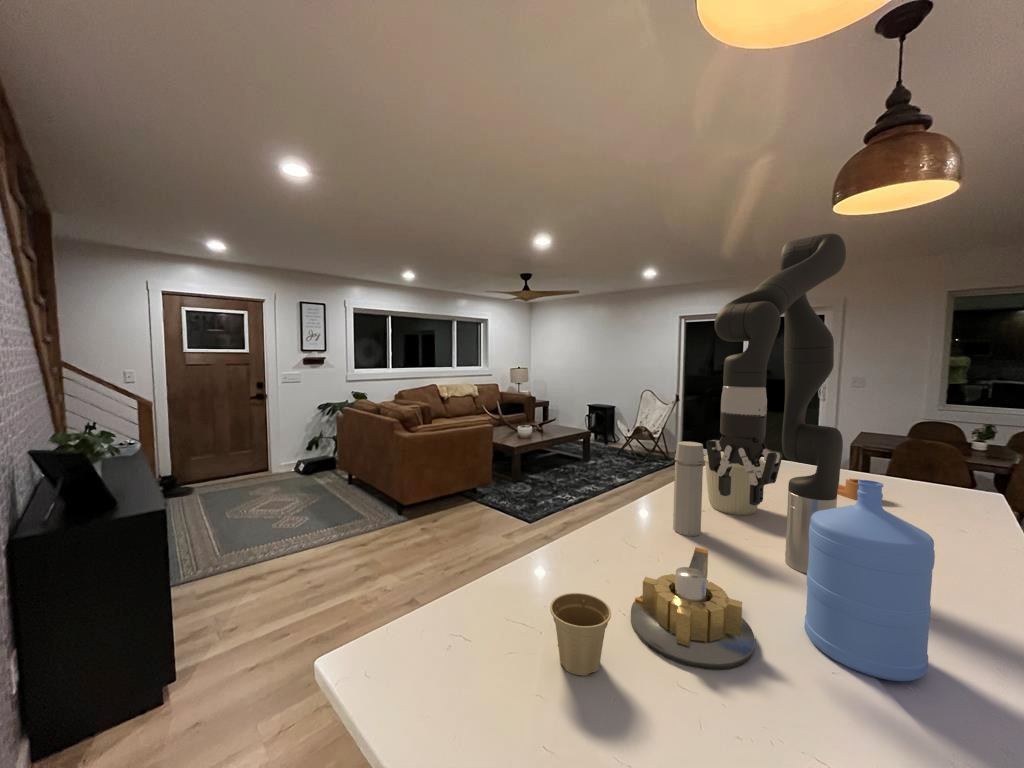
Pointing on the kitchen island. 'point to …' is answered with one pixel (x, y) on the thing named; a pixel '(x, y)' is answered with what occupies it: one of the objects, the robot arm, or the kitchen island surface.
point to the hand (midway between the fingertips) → (739, 499)
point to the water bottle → (688, 488)
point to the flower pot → (580, 630)
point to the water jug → (870, 588)
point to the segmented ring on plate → (692, 607)
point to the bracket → (849, 489)
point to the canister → (739, 490)
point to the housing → (699, 653)
